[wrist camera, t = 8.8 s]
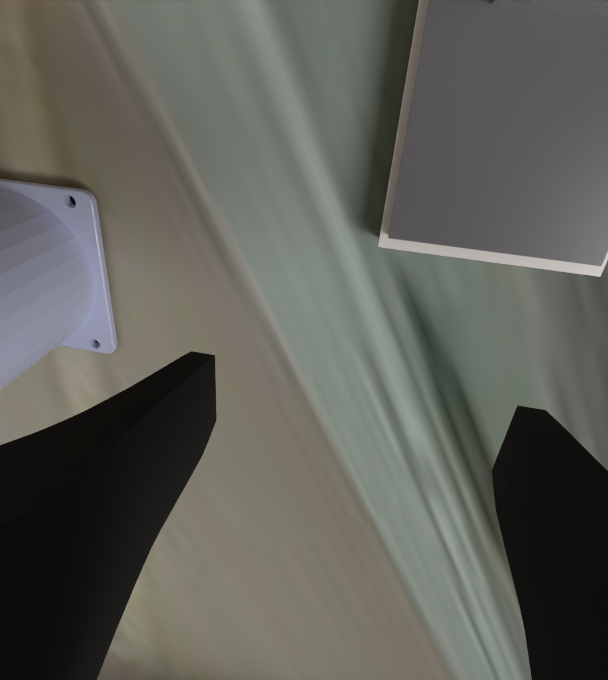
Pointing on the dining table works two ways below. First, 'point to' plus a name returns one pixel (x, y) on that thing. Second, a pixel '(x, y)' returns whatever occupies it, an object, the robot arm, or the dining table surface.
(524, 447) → the robot arm
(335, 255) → the dining table surface
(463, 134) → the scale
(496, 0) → the block
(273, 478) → the dining table surface
